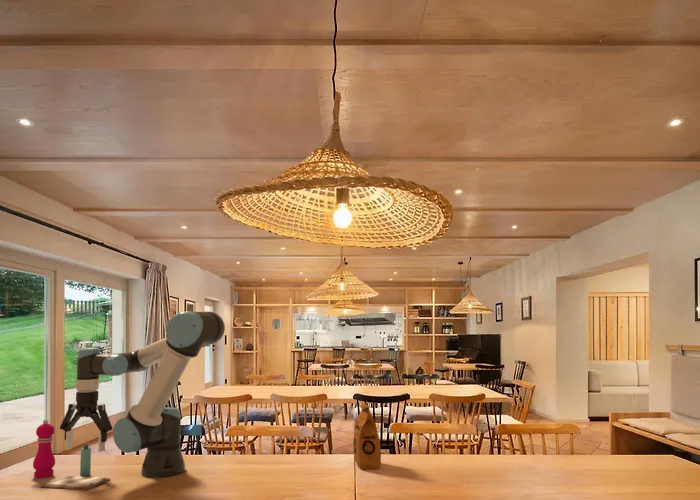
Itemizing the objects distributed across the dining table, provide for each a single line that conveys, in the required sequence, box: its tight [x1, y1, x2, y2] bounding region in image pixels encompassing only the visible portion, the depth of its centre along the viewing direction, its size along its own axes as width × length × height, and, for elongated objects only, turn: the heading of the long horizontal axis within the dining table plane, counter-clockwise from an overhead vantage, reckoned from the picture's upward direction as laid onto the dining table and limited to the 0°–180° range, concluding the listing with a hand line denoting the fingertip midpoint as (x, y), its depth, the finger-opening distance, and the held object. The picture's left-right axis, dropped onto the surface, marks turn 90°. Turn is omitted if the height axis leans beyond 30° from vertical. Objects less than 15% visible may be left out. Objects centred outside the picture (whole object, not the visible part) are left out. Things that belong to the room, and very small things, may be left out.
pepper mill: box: [32, 419, 56, 479], centre depth 216 cm, size 7×7×20 cm
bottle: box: [79, 443, 92, 477], centre depth 215 cm, size 3×3×11 cm
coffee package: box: [352, 402, 382, 470], centre depth 220 cm, size 10×12×22 cm
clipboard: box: [40, 475, 111, 491], centre depth 203 cm, size 18×12×1 cm, turn 77°
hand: (85, 450), depth 215 cm, fingers open, 13 cm apart
